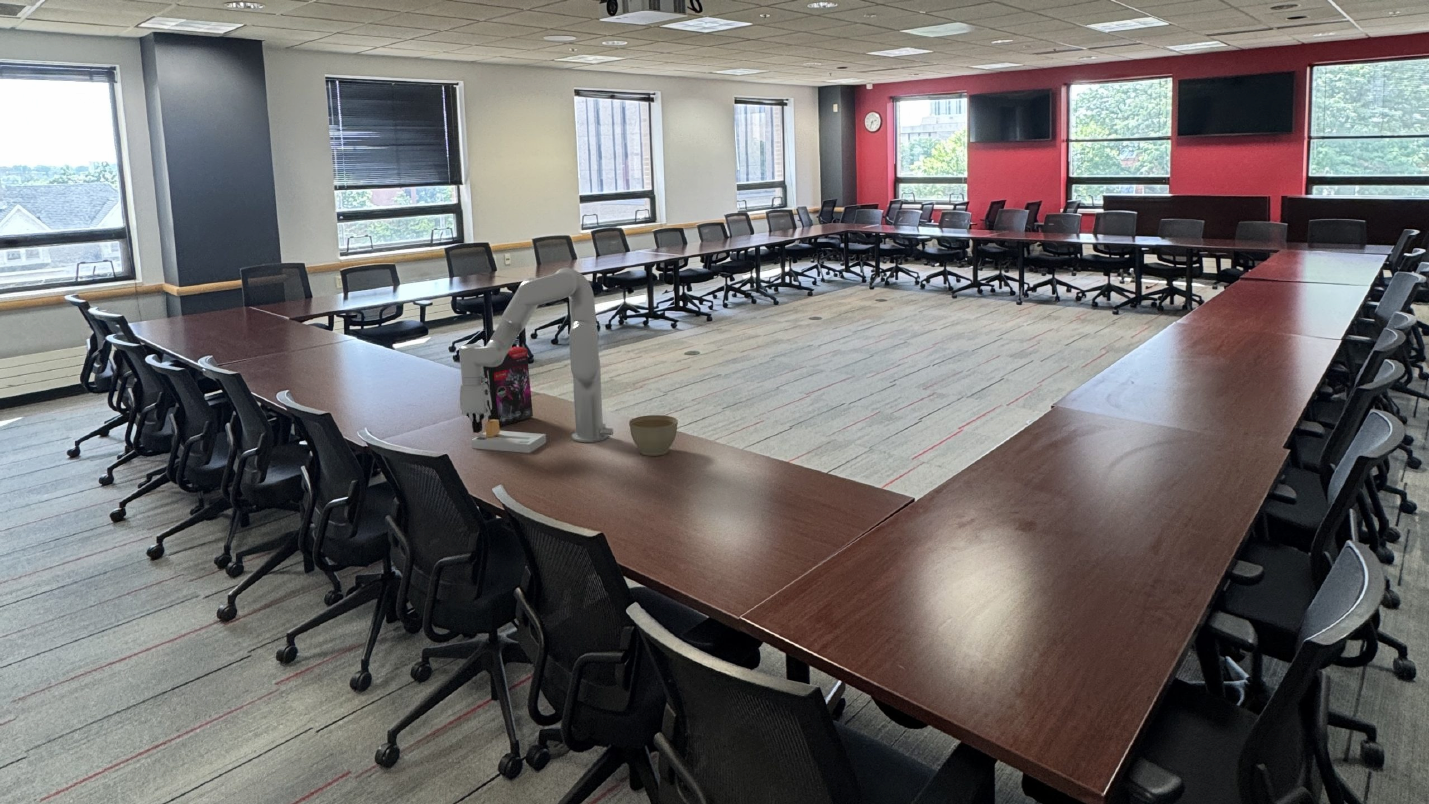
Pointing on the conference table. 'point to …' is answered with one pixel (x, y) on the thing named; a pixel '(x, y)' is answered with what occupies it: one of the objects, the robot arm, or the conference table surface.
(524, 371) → the graphics card box
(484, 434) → the slider switch
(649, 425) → the planter bowl
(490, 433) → the orange slider handle
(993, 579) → the conference table surface
